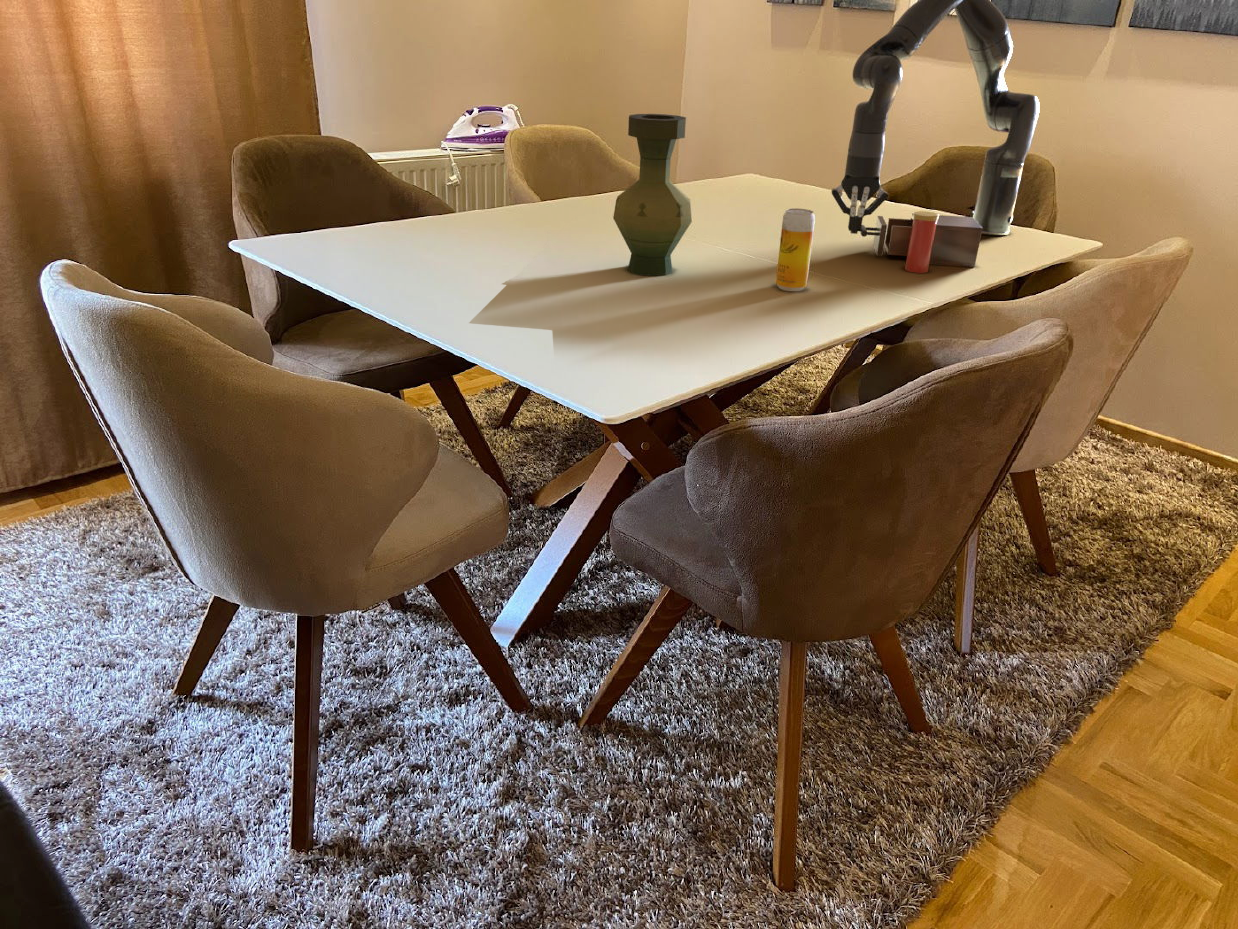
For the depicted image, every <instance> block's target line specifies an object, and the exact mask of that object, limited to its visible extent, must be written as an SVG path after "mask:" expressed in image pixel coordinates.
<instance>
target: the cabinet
mask: <svg viewBox="0 0 1238 929" xmlns="http://www.w3.org/2000/svg"><path fill="white" fill-rule="evenodd" d="M938 215H939V216H938V220H937V224H936V229H935V235H934V240H933V246H932V251H931V257H930V262H929V265H935V266H936V265H938V266H950V267H966V268H975V267H976V262H977V258H978V252H979V248H980V242H981V238H982V235H983V234H982V229H983V228H982V227H981V226H980V225H979V224H978V222H977V221H976V220H975V219H974V218H973V217H972V216H958V215H957V216H955V215H943V214H938ZM913 216H914V213H911V214H910V219H911V220H913V219H914V218H913Z"/></svg>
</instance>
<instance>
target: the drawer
mask: <svg viewBox="0 0 1238 929" xmlns="http://www.w3.org/2000/svg"><path fill="white" fill-rule="evenodd" d="M912 224H913V220H911V218H910V219H909V218H894V217H888V220H887V223H886V221H885V219H884V216H883V215H877V216H876V221H875V227H871V226H870V227H869V226H866V225H864V224H862V226H861V230H860V231H859V232H860V236H861V237H862V238H863V237H864V238H865V237H867V236H873V242H872V247H873V250H874V252H875V254H876V256H877V257H883V253H884V249H885V250H886V253H887V255H891V256H903V257H907V253H908V248H909V242H910V236H911V230H912Z"/></svg>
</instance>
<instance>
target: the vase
mask: <svg viewBox="0 0 1238 929" xmlns="http://www.w3.org/2000/svg"><path fill="white" fill-rule="evenodd" d="M686 121H687V117H686V116H682V115H676V114H666V113H665V114H663V113H635V114H629V115H628V129H627V130H628V131H627V136H629V137H632V138H635V139H636V141H637V147H638V148H637V149H638V153H639V176H638V177H639V178H638V180H636V181H635V182H634V183H633V184H632V185H630V186H629V187H628V188H626V189H625V190H624V191H622V192H621V193H620V194H619V195H617V197H616V200H615V204H614V211H613V215H612V217H613V218H612V219H613V221H614V222H615V225H616V226H617V228H618V231H619V232H620V234H621V236H622V238H623V241H624V242H625V244H626V246H627V248H628V250H629V252H630V258H629V263H628V268H627V271H628V272H630V273H632V274H634V275H635V274H636V275H641V276H651V277H659V276H666V275H670V274H672V273H673V264H672V254H673V252H674V251H675V249H676V248H677V245H678V244H679V242H680V241H681V240H682V237H683V236H684V235H685V233H686V232H687V230H688V229H689V227H690V225H691V224H692V223H693V222H692V217H693V216H692V207H691V206H692V204H691V203H692V202H691V199H690V198H689V197H688V196H687V195H686V194H685V193H684V192H683V191H682V190H680V189H679V187H677V186H676V185H675V184H674V183H673V182H672V181H671V163H672V162H671V161H672V154H673V153H674V149H675V145H676V143H677V142H676V141H677V140H679V139H685V138H686V124H687V122H686Z"/></svg>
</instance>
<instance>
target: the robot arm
mask: <svg viewBox="0 0 1238 929" xmlns="http://www.w3.org/2000/svg"><path fill="white" fill-rule="evenodd" d="M953 10H954V12H955V14H956V18H957V19H958V22H959V25H960V28H961V31H962V34H963V38H964V42H965V46H966V48H967V51H968V55H969V57H970V60H971V63H972V66H973V69H974V73H975V77H976V80H977V84H978V87H979V90H980V91H979V92H980V96H981V102H982V107H983V112H984V118H985V122H986V123H987V126H988V127H989V128H990V129H991V130H993V131H994V132H997V133H1004V134H1007V137H1006V140H1005V141H1004V142H1003V143H1002V144H999V145H997V146H993V147H990V148H988V149H987V150H986V152H985V156H984V160H983V166H982V171H981V176H980V180H979V186H978V192H977V197H976V201H975V203H974V204H973V207H974V210H972V211H971V212H970V215H971V216H970V217H973V218H974V219H975V220H976V221H977V222H978V224H979V225H980V226H981V227H982V228H983V229H982V234H981V235H986V236H987V235H988V236H1007V235H1009V234H1010V227H1011V224H1012V222H1013V219H1014V210H1015V205H1016V201H1017V197H1018V193H1019V187H1020V183H1021V178H1022V173H1023V170H1024V169H1023V168H1024V164H1025V160H1026V157H1027V155H1028V153H1029V150H1030V148H1031V144H1032V141H1033V136H1034V133H1035V129H1036V126H1037V122H1038V118H1039V113H1040V102H1039V99H1038V97H1037V96H1035V95H1034V94H1030V93H1021V92H1011V91H1009V89H1008V87H1007V85H1006V82H1005V77H1004V74H1005V70H1006V68H1007V66H1008V64H1009V62H1010V59H1011V57H1012V54H1013V48H1014V45H1013V39H1012V35H1011V31H1010V28H1009V25H1008V21H1007V19H1006V17H1005V16H1004V14H1003V13H1002V11H1001V10H1000V9H999V8H998V7H997V6H996V5H995V3H994V2H992V1H991V0H917V1H916V2H915V3H913V4H912V5H911V6H910V7H909V8H908V9H906V11H905V12H904V13H903V14H902V15H901V16H900V17H899V18H898V20H897V21H896V22H895V23H894V25H893V26H892V27H891V28H890V29H889V31H888V32H887V33H886V34H885V35H883V36H882V37H880V38H879V39H877V41H875V42H873V44H871V45H870V46H869V47H867V49H865V50H864V51H863V52H862V53H861V54H860V56H859V57H858V58H857V59H856V62H854V66H853V68H852V80H853V82H854V84H855V85H856V86H857V87H858V88H860V89H863V90H871V91H872V92H871V95H870V97H869V99H868V101H866V100H865V101H862V102H859V103H858V104H857V105H856V107H855V109H854V115H853V123H852V129H851V130H852V131H851V135H850V138H849V143H848V148H847V156H846V163H845V170H844V171H845V172H844V176H843V179H842V180H841V181H840V182H841V183H840V184H839V185H838V186H836V187H833V188H832V189H831V190H830V192H831V195H832V197H833V198H834V200H835V202H836V203H837V205H838V206H839V208H840V210H841V212H842V213H843V214H846V215H848V216H849V218H848V225H847V228H848V231H849V232H850V234H852V235H853V234H854V235H858V233H859V232H860V230H861V226H862V225H863V219H864V218H865V217H866V216H870V215H872V214H873V213H874V212H875V211H876V210H877V209H878V208H879V207H880V206H881V205H882V204H883V203H884V202H886V200H887V199H888V198H889V194H888V192H887V191H885V190H884V189H883V188H882V187H881V182H880V176H881V169H882V163H883V157H884V154H885V145H886V144H885V142H886V131H887V124H888V117H889V116H888V115H889V112H890V110H891V107H892V105H893V102H894V100H895V99H896V98H895V97H896V95H897V93H898V91H899V89H900V86H901V83H902V80H903V64H902V61H903V60H907V59H909V58H911V57H912V56H913V55H914V54H915V53H916V52H917V50H918V49H919V48H920V47H921V45H923V43H924V42H925V41H926V39H928V37H929V36H930V34H931V33H932V32H933V31H934V29H935V28H936V27H937V26H938V25H939V24H940V23H941V22H942V21H943V20H944V19H945V18H946V17H947V16H948V15H949V14H950V13H952V11H953ZM843 191H844V192H843ZM843 193H845V195H846V197H847V199H849V207H848V206H847V204H846V203H845V201H844V199H843V198H842V196H843ZM874 196H875V197H876V198H875V199H874V200H873V201H872V202H871V203H870V204H869V205H868V206H867V202H869V200H871V199H872V197H874ZM858 201H859V202H858ZM857 206H858V208H857Z"/></svg>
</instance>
